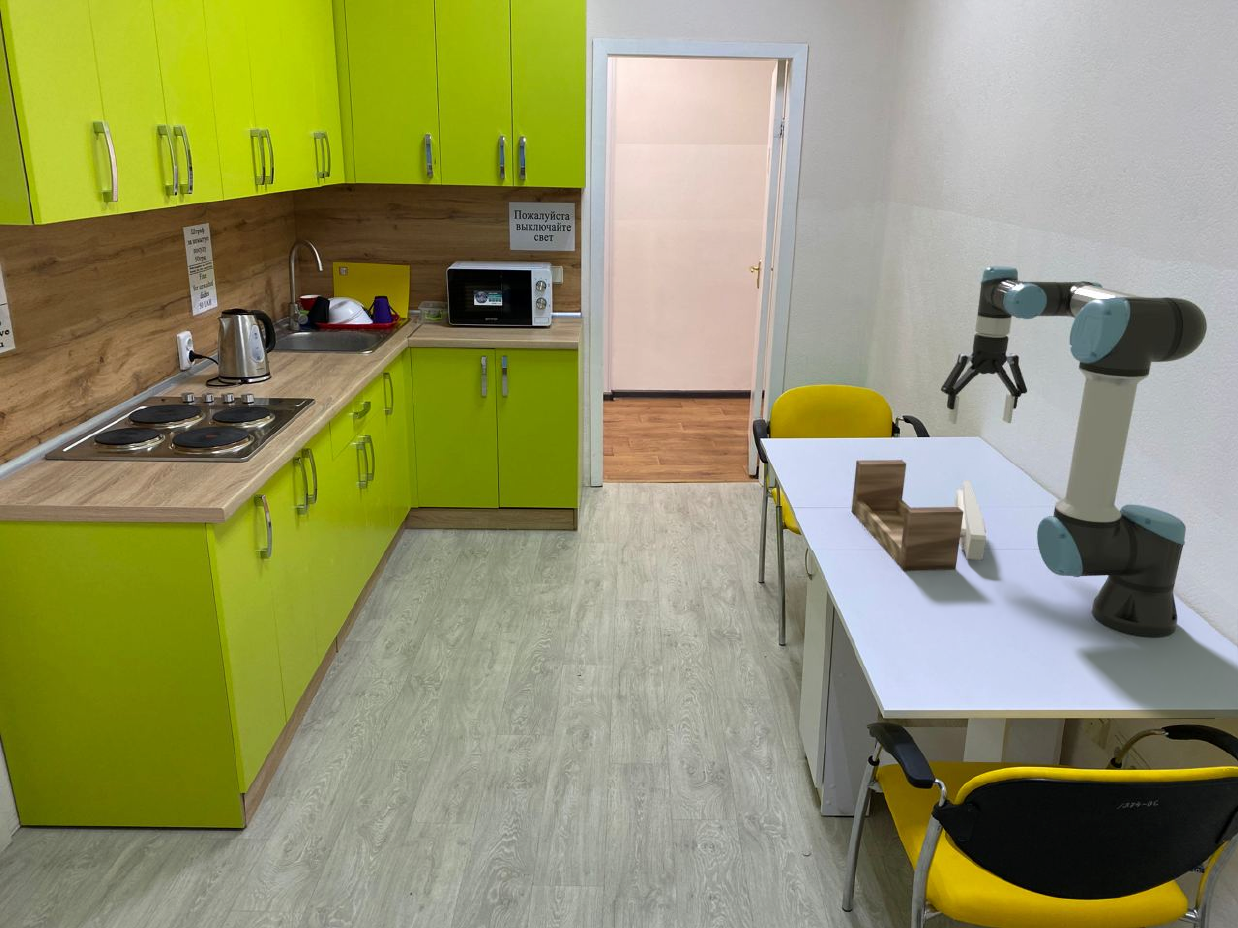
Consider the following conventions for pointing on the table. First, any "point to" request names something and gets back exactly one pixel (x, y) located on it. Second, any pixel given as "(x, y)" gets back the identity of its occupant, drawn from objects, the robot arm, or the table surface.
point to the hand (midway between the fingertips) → (979, 422)
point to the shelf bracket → (971, 523)
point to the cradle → (904, 519)
